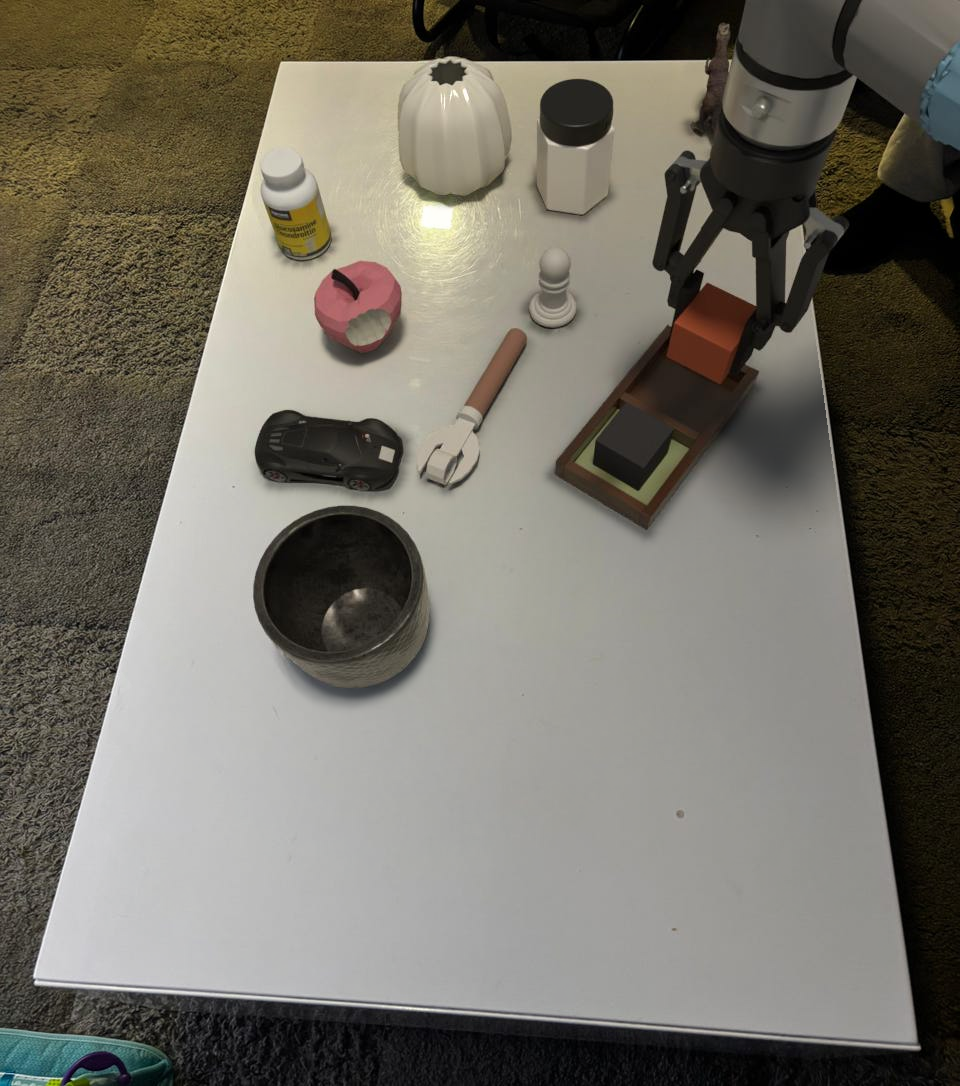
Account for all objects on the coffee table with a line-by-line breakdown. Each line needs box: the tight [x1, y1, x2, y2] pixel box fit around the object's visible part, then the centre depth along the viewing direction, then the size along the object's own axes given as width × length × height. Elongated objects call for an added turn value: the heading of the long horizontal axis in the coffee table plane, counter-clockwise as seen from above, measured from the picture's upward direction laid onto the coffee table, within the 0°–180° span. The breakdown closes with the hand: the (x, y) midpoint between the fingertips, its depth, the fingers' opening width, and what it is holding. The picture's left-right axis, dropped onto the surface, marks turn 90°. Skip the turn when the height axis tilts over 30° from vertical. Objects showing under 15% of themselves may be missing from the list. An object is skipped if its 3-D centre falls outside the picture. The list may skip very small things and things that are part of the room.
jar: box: [536, 78, 616, 216], centre depth 96 cm, size 9×8×12 cm
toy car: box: [254, 409, 404, 492], centre depth 84 cm, size 7×15×4 cm, turn 81°
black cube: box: [593, 402, 674, 491], centre depth 81 cm, size 6×6×4 cm
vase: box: [397, 56, 513, 197], centre depth 98 cm, size 14×14×13 cm
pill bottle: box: [259, 146, 332, 261], centre depth 95 cm, size 6×6×12 cm
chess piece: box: [528, 246, 578, 329], centre depth 89 cm, size 5×5×9 cm
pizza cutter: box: [416, 327, 528, 486], centre depth 87 cm, size 20×6×3 cm, turn 154°
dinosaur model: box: [690, 22, 731, 136], centre depth 98 cm, size 4×12×15 cm
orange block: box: [667, 282, 756, 384], centre depth 72 cm, size 6×6×4 cm
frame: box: [554, 324, 760, 531], centre depth 84 cm, size 11×21×3 cm, turn 143°
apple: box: [313, 260, 403, 354], centre depth 89 cm, size 10×9×10 cm
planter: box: [252, 504, 431, 689], centre depth 72 cm, size 14×14×13 cm
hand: (709, 347), depth 74 cm, fingers closed on orange block, 5 cm apart
